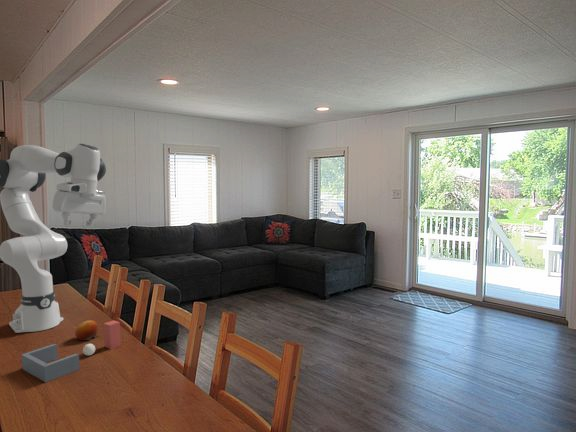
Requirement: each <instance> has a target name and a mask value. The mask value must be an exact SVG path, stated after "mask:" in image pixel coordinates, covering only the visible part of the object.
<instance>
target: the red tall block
mask: <svg viewBox="0 0 576 432" xmlns="http://www.w3.org/2000/svg"><path fill="white" fill-rule="evenodd" d="M103 334H104V338H103V339H104V348H107V349H108V350H109V349H110V350H114V349H116V348H119V347H121V346H122V338H121V335H122V334H121V322H120V321H118V320H110V321H107V322H104V323H103Z"/></svg>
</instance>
